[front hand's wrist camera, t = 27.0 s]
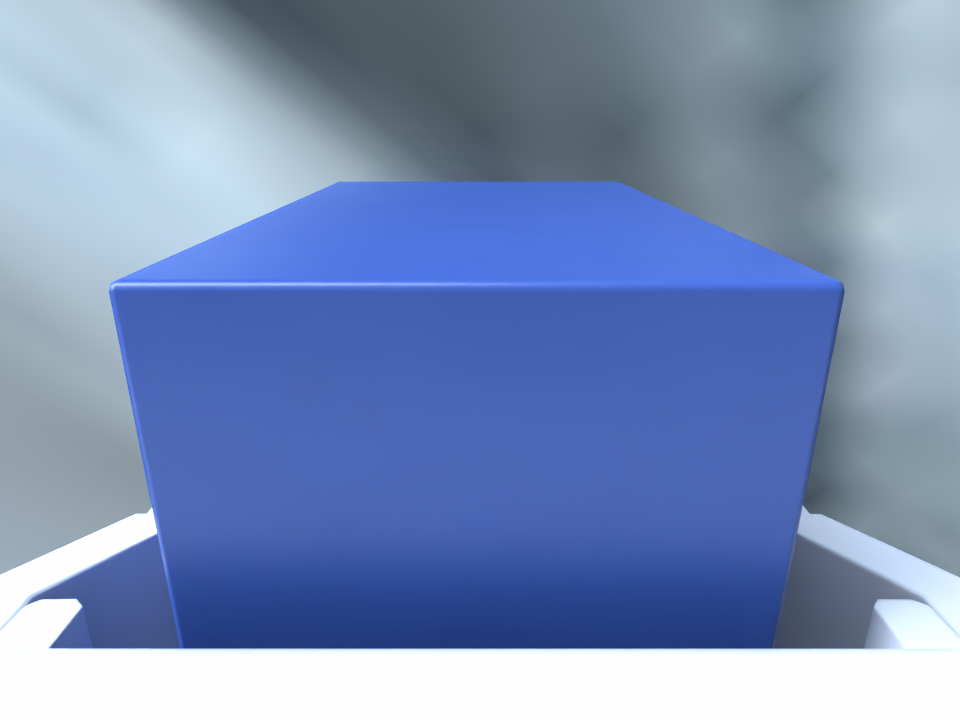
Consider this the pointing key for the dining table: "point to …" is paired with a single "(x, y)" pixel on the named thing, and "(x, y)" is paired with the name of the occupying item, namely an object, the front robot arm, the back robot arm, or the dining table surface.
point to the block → (477, 421)
